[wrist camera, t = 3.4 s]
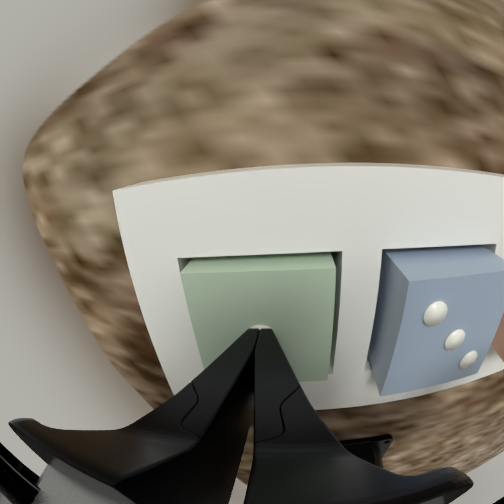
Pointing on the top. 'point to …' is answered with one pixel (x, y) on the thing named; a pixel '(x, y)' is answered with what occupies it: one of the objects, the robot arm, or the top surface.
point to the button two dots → (499, 339)
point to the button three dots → (434, 315)
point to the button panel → (303, 247)
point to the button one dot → (265, 305)
